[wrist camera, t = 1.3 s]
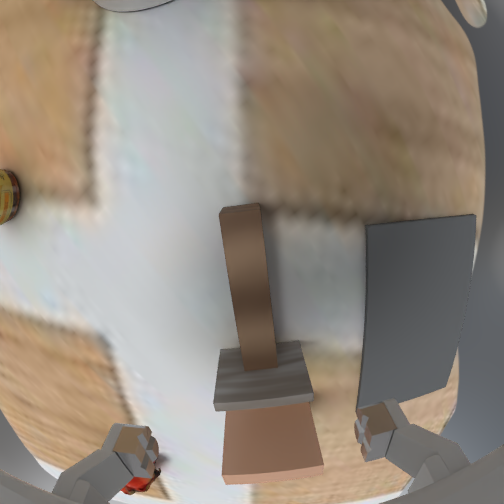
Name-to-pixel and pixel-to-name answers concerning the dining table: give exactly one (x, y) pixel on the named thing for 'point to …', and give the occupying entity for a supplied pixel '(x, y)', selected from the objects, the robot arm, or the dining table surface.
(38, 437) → the dining table surface
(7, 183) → the sauce bottle
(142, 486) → the dragon fruit
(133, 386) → the dining table surface
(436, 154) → the dining table surface
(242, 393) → the wooden post on base
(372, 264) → the mat
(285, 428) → the tile
